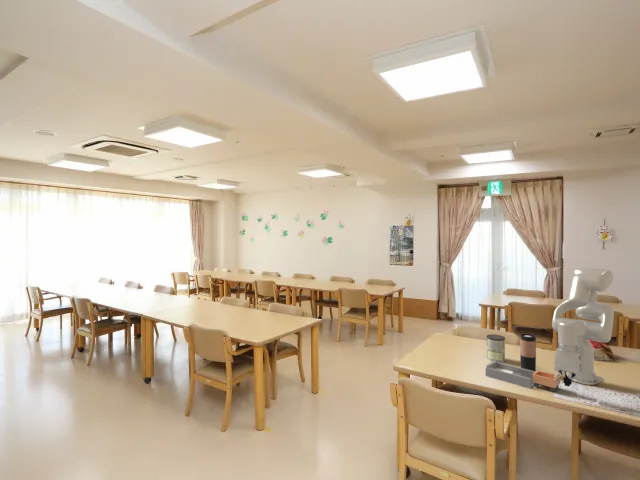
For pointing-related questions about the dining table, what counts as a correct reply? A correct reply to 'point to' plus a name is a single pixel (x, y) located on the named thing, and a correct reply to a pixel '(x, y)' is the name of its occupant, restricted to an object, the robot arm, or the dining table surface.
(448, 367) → the dining table surface
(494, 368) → the drawer housing
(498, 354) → the coffee can
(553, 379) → the orange drawer with handle
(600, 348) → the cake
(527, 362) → the travel mug
